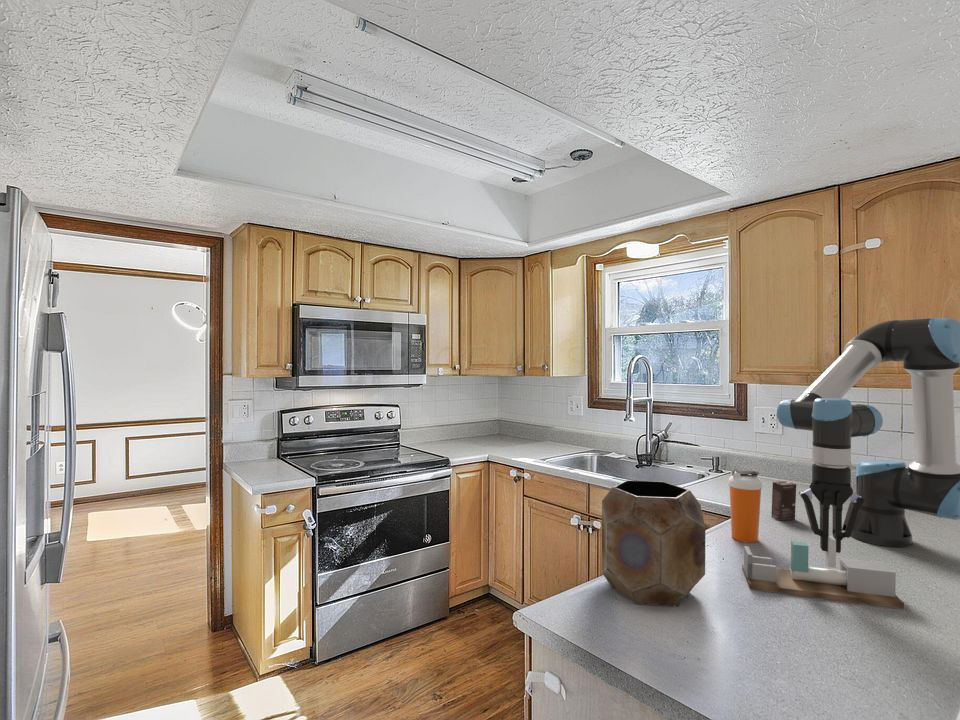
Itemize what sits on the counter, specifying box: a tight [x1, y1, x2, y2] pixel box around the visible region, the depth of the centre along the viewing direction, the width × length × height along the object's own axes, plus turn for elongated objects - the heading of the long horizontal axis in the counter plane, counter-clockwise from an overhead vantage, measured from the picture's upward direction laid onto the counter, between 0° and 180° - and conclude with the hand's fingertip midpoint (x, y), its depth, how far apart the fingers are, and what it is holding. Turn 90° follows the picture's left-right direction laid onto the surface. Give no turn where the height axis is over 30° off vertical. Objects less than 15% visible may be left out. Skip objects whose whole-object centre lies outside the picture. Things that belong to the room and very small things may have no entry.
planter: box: [601, 480, 706, 607], centre depth 123 cm, size 22×24×24 cm
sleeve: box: [839, 557, 897, 597], centre depth 121 cm, size 9×6×5 cm, turn 71°
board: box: [741, 564, 905, 610], centre depth 124 cm, size 30×12×1 cm, turn 71°
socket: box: [743, 545, 777, 582], centre depth 128 cm, size 6×6×6 cm
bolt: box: [790, 540, 847, 586], centre depth 123 cm, size 20×3×9 cm, turn 71°
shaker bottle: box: [728, 469, 763, 543], centre depth 157 cm, size 9×9×20 cm
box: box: [771, 480, 797, 521], centre depth 176 cm, size 6×4×12 cm
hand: (830, 565), depth 123 cm, fingers closed
